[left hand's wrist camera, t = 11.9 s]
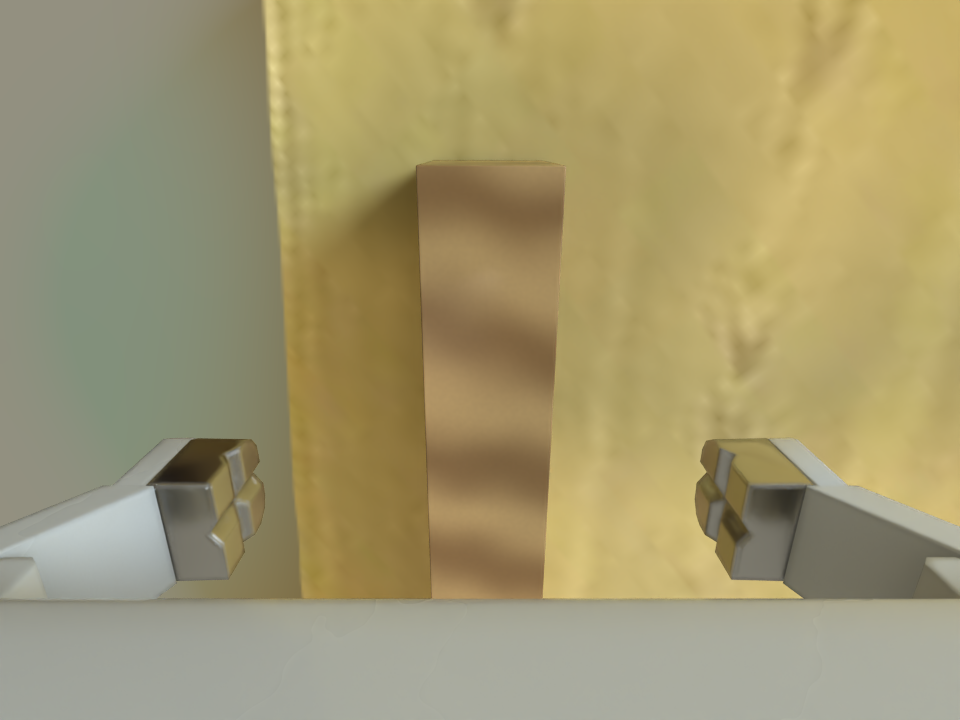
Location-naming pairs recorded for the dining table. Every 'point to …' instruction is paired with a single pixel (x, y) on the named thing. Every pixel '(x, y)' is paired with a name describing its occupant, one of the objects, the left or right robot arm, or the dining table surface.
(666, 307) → the dining table surface
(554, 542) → the dining table surface
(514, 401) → the block
